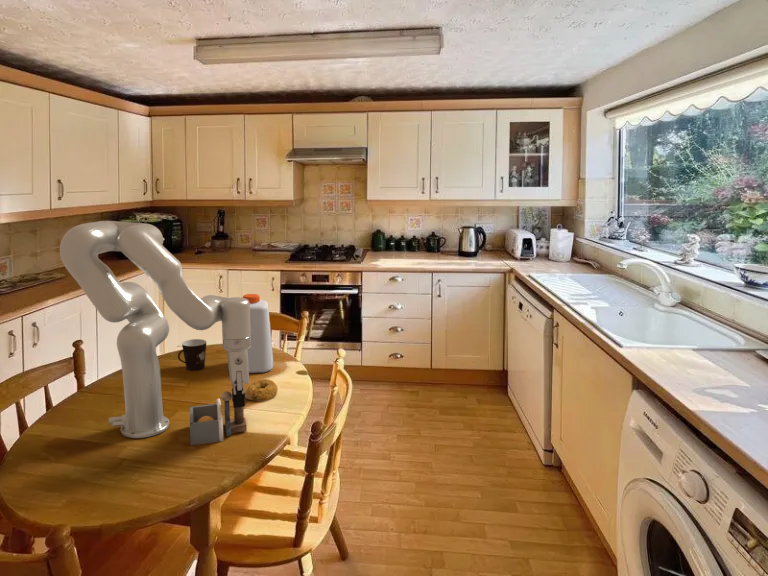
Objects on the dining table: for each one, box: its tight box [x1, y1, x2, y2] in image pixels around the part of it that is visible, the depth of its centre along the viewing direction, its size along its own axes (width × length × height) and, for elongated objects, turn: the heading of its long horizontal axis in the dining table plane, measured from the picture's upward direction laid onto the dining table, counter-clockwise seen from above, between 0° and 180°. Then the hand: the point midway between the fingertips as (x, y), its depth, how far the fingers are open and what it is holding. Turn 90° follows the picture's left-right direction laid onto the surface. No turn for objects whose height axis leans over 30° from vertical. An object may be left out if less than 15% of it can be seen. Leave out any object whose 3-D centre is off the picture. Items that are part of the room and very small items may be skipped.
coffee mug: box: [177, 338, 207, 372], centre depth 194 cm, size 12×9×10 cm
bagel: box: [244, 378, 278, 402], centre depth 172 cm, size 10×11×5 cm
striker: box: [221, 387, 248, 437], centre depth 148 cm, size 6×8×12 cm
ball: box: [198, 416, 214, 422], centre depth 146 cm, size 5×5×5 cm
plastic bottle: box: [242, 293, 274, 374], centre depth 196 cm, size 15×15×28 cm
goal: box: [189, 397, 224, 446], centre depth 146 cm, size 8×12×8 cm
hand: (238, 403), depth 148 cm, fingers closed on striker, 3 cm apart
